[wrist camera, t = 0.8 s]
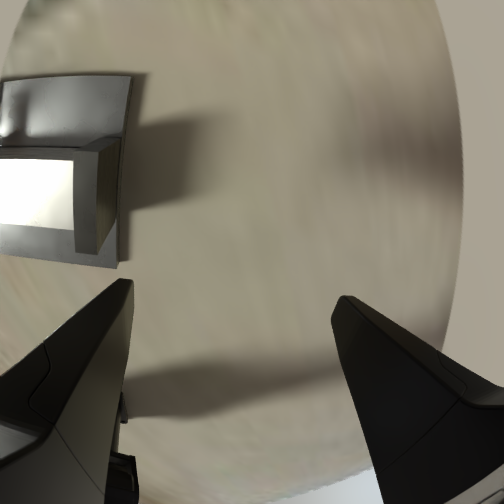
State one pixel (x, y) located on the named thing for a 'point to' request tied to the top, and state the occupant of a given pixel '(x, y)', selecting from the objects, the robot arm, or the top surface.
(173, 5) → the top surface
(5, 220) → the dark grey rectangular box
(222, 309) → the top surface
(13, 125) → the grey tray
